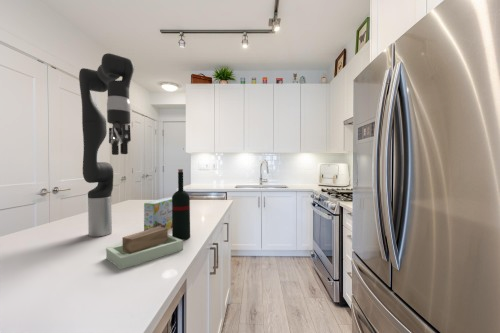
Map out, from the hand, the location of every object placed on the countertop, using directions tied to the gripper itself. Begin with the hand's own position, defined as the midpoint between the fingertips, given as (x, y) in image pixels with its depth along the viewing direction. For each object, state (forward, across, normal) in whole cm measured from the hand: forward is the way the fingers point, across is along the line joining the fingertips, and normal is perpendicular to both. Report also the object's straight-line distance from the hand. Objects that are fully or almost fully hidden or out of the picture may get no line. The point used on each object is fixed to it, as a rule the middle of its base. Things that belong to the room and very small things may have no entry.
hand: (119, 154), depth 88 cm
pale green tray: (+36, -10, -5) cm, 38 cm away
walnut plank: (+33, -10, -5) cm, 35 cm away
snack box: (+36, +14, -24) cm, 46 cm away
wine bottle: (+36, -2, -24) cm, 44 cm away
